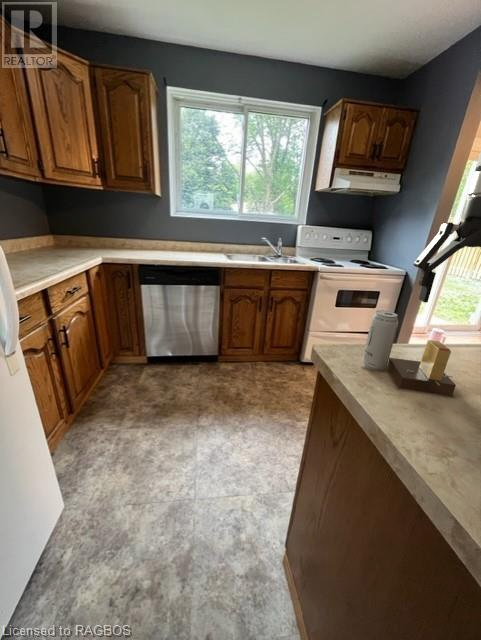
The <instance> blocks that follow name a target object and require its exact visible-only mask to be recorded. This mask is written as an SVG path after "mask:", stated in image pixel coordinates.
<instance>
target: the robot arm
mask: <svg viewBox="0 0 481 640" xmlns="http://www.w3.org/2000/svg"><path fill="white" fill-rule="evenodd" d="M467 195H468V196H470V198H467V200H465V203H464V205H463V210H462V212H461V217H460V221H459V222H458V223H453V222H442V223H441V224H440V227H439V230H438V232H437V234H436V235H435V236H434V238H433V239H432V240H431V241H430V242H429V244H427V246H426V247H425V249H424V250H423V251H422V252H421V253H420V254H419V256H418V257H417V259H416V260H415V261H414V262H413V266H414V267H415V268H418V269H420V270H421V273H420V277H419V280H418V285H419V286H420V287H421V289H420V293H419V296H418V300H419V301H421V302H422V303H429V299H430V295H431V293H432V289H433V284H434V282H435V277H436V275H437V273H436V271H434V270H435V269H436V268H438V267H439V266H441V264H443V263H444V262H445V261H447V260H448V259H449V258H451V257H452V256H453V255H454V254H456V253H457V252H458V251H459V250H461V249H464V248H481V151H480V152H479V155H478V159H477V163H476V166H475V170H474V172H473V175H472V179H471V182H470V186H469V189H468V193H467ZM454 233H456V235H457V236H456V237H455V238H454V239H453V240H451V241H450V242H449V244H448V245H447V246H445V247H444V248H443V249H441V247H442V246H443V245H444V243H445V242H446V241H447V240H448V239H449V237H450V236H451V235H453V234H454ZM439 249H441V250H440V251H439V252H438V250H439ZM437 252H438V253H437Z"/></svg>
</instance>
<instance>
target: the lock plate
mask: <svg viewBox="0 0 481 640" xmlns="http://www.w3.org/2000/svg"><path fill="white" fill-rule="evenodd" d="M420 363H421V360H420V361H419V360H418V361H417V360H411V359H402V358H395V357H389V360H388V364H387V367H386V369H387V370H388V372H389V374H390V376H391V377H392V379H393V380H394V382H395V384H396V385H397V387H398V389H400V390H406V391H413V392H420V393H426V394H435V395H441V396H448V397H452V396H453V394H454V392H455V389H456V387H457V384H456V383H455V382H454V381H453V380H452V379H451V378H454V377H453V376H452V375H447V374H446V373H445V372H444V373H443V376H442V379H441V381H437V380H430V379H428V378H427V376H426V375H425V374H424V373H423V372H422V370H421V369H420V368H419V367H420Z"/></svg>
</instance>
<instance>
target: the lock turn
mask: <svg viewBox="0 0 481 640" xmlns="http://www.w3.org/2000/svg"><path fill="white" fill-rule="evenodd" d="M451 354H452V351H451V349H450V348H449V347H447V346H446V345H444V344H443V343H442V342H441V341H439V340H432V339H427V341H426V345H425V348H424V350H423V354H422V357H421V360H420V362H421V363H420V367H419V368H420V369H421V370H422V372H423V373H424V374H425V375H426V376H427V378H428V379H430V380H437V381H441V379H442V376H443V373H445V370H446V367H447V365H448V362H449V359H450V356H451Z"/></svg>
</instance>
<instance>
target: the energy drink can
mask: <svg viewBox="0 0 481 640" xmlns="http://www.w3.org/2000/svg"><path fill="white" fill-rule="evenodd" d="M398 327H399V320H398V314H397V313H395V312H393V311H388V310H376V311H375V313H374V314H373V316H372V317H371V320H370V323H369V329H368V334H367V338H366V341H365V347H364V351H363V355H362V360H361V361H362V364H363V366H364V368H366V369H368V370H370V371H374V372H382V371H384V370H385V369H387V365H388V361H389V358H391V357H390V356H391V353H392V349H393V345H394V342H395V338H396V334H397V330H398Z"/></svg>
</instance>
